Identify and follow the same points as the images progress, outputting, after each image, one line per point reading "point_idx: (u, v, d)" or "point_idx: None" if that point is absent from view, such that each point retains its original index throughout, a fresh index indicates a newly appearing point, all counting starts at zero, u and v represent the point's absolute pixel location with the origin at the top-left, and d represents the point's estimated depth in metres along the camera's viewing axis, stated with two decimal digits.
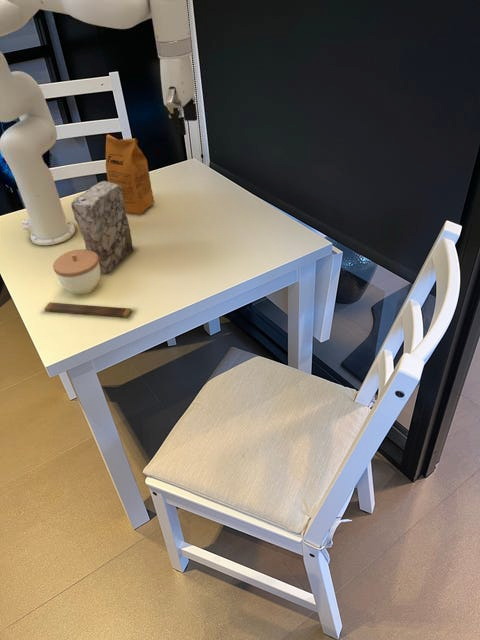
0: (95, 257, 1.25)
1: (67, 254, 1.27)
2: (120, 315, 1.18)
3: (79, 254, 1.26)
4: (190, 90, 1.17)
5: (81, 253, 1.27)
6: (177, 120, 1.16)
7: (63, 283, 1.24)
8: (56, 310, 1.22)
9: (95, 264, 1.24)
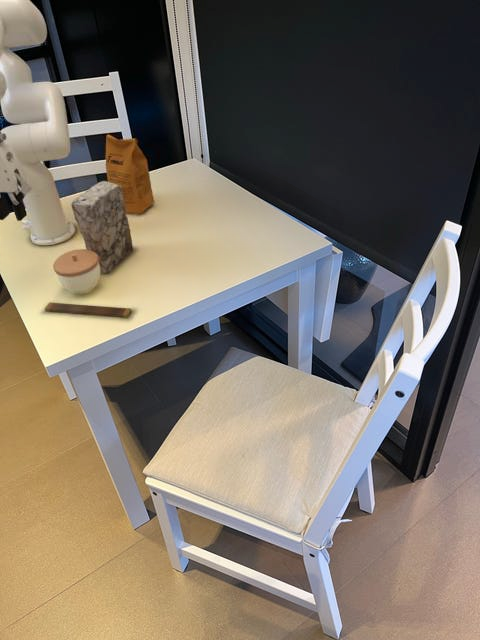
0: (95, 257, 1.25)
1: (67, 254, 1.27)
2: (120, 315, 1.18)
3: (79, 254, 1.26)
4: None
5: (81, 253, 1.27)
6: None
7: (63, 283, 1.24)
8: (56, 310, 1.22)
9: (95, 264, 1.24)
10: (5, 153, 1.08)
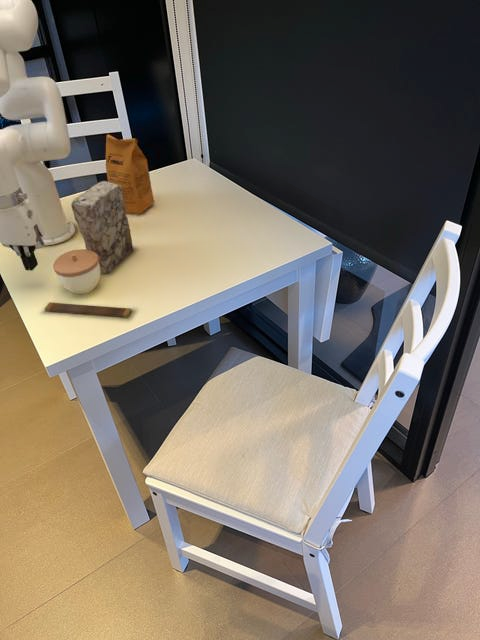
0: (95, 257, 1.25)
1: (67, 254, 1.27)
2: (120, 315, 1.18)
3: (79, 254, 1.26)
4: (13, 237, 1.20)
5: (81, 253, 1.27)
6: None
7: (63, 283, 1.24)
8: (56, 310, 1.22)
9: (95, 264, 1.24)
10: (26, 211, 1.16)
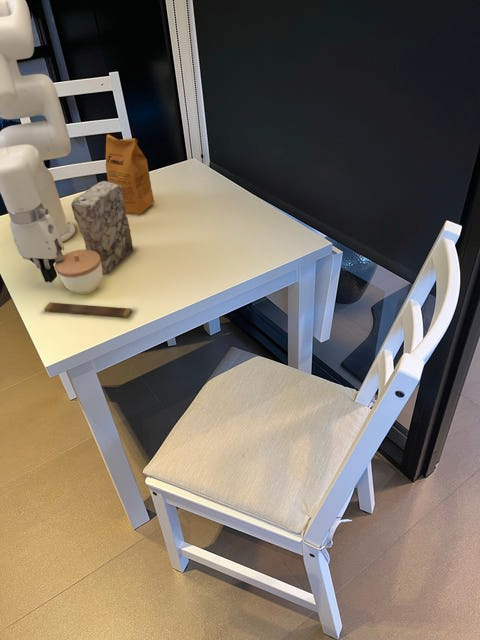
0: (97, 257, 1.25)
1: (69, 254, 1.27)
2: (120, 315, 1.18)
3: (81, 254, 1.26)
4: (34, 251, 1.22)
5: (83, 253, 1.27)
6: None
7: (65, 283, 1.24)
8: (56, 310, 1.22)
9: (97, 264, 1.23)
10: (47, 226, 1.18)
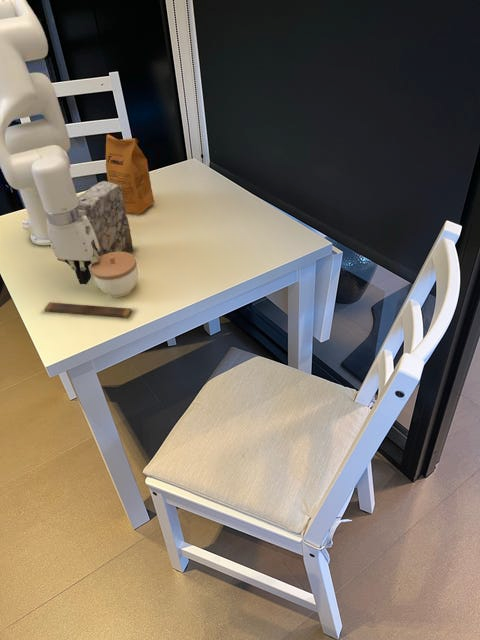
0: (133, 259, 1.23)
1: (104, 256, 1.25)
2: (120, 315, 1.18)
3: (116, 256, 1.24)
4: (70, 253, 1.19)
5: (119, 256, 1.25)
6: None
7: (101, 286, 1.22)
8: (56, 310, 1.22)
9: (134, 267, 1.21)
10: (84, 227, 1.16)
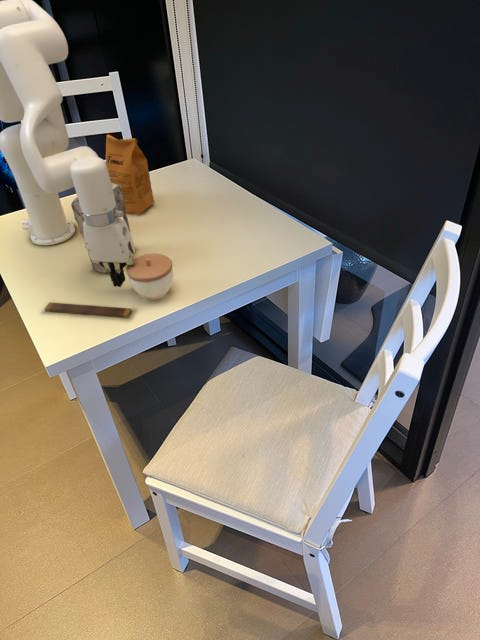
0: (169, 261, 1.21)
1: (139, 258, 1.23)
2: (120, 315, 1.18)
3: (152, 258, 1.23)
4: (106, 255, 1.18)
5: (154, 257, 1.23)
6: None
7: (137, 288, 1.20)
8: (56, 310, 1.22)
9: (170, 269, 1.20)
10: (121, 228, 1.14)
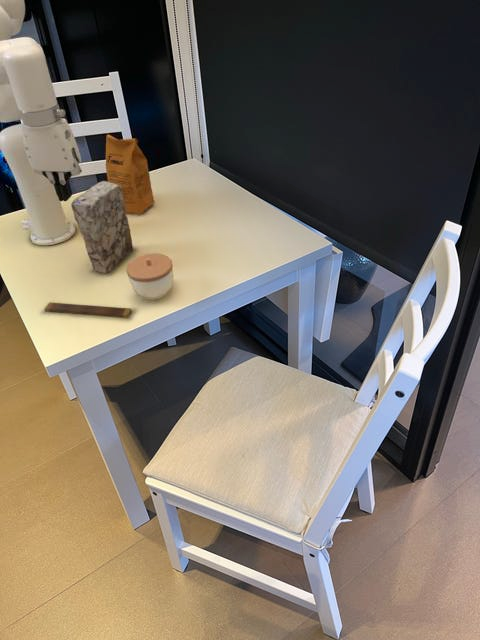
0: (169, 261, 1.21)
1: (139, 258, 1.23)
2: (120, 315, 1.18)
3: (152, 258, 1.23)
4: (48, 162, 1.08)
5: (154, 257, 1.23)
6: None
7: (137, 288, 1.20)
8: (56, 310, 1.22)
9: (170, 269, 1.20)
10: (64, 131, 1.05)
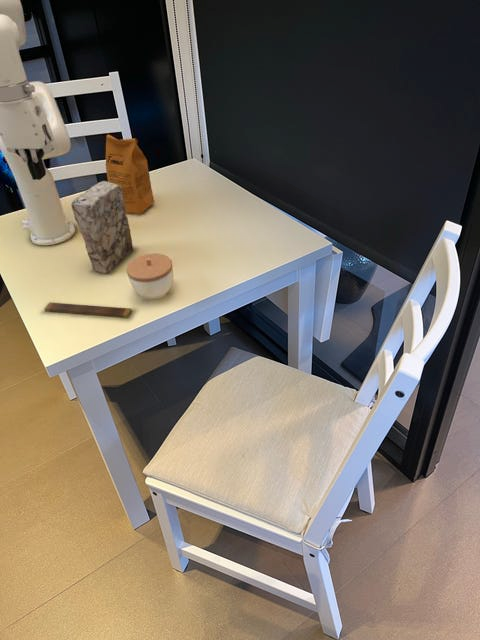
0: (169, 261, 1.21)
1: (139, 258, 1.23)
2: (120, 315, 1.18)
3: (152, 258, 1.23)
4: (20, 139, 1.09)
5: (154, 257, 1.23)
6: None
7: (137, 288, 1.20)
8: (56, 310, 1.22)
9: (170, 269, 1.20)
10: (33, 106, 1.05)
